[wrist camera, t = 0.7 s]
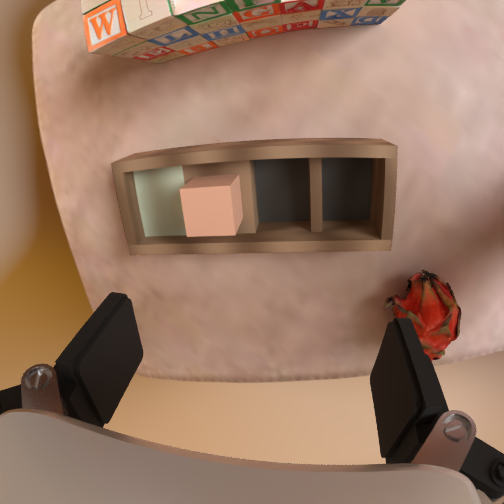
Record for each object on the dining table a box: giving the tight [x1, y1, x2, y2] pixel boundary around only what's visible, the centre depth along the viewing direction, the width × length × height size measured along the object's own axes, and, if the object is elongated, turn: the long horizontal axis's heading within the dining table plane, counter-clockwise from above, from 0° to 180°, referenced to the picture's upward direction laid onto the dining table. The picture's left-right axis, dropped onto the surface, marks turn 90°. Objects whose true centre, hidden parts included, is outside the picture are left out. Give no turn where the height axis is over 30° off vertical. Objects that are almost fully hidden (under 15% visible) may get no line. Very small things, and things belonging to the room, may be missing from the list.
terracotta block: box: [179, 174, 243, 237], centre depth 27 cm, size 4×4×4 cm
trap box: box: [111, 138, 397, 255], centre depth 28 cm, size 24×9×5 cm, turn 95°
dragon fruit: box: [384, 270, 461, 362], centre depth 31 cm, size 8×8×12 cm
